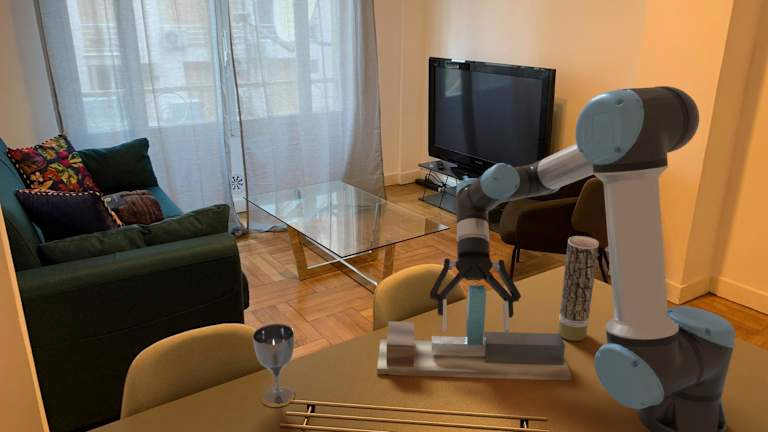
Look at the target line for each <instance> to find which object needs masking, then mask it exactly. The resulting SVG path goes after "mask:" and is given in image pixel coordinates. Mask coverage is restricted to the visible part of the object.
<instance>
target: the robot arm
mask: <svg viewBox="0 0 768 432" xmlns="http://www.w3.org/2000/svg"><path fill="white" fill-rule="evenodd" d="M699 124H700V112H699V107H698V105H697V103H696V102H695V100H694V99H693V97H691V96H690V95H689V94H688V93H687V92H686V91H684V90H682V89H679V88H677V87H674V86H667V85H664V86H663V85H662V86H661V85H660V86H651V87H637V88H636V87H635V88H621V89H620V88H618V89H615V90H611V91H605V92H604V91H603V92H602V93H599V94H597V95H595V96H593V97H592V98H590V99H589V100H588V102H587V103H586V104H585V106H584V108H583V109H581V110H580V113H579V115H578V117H577V120H576V123H575V131H574V132H575V133H574V136H575V137H574V138H575V143H574V144H571V145H570V146H568V147H565V148H564V149H561V150H560V151H557V152H555V153H553V154H551V155H548V156H546V157H545V158H543V159H540V160H537V161H536V162H534V163H531V164H527V165H523V166H516V167H515V166H514V167H513V166H512V165H510V164H506V162H505V163H504V162H500V163H499V162H498V163H496V164H494V165H493V166H491V167H489V168H488V169H486V170H485V171H484V172H483V174H481V176H479V177H478V178H477V177H475V178H474V177H472V178H466V179H465V180H461V181H460V182H459V183H458V184H457V186H456V195H455V205H456V207H455V208H456V210H455V211H456V241H457V243H456V257H457V258H456V260H450V258H447V257H446V258H445V259H444V261H443V268H442V269H441V271H440V273H439V275H438V276H437V279H436V281H435V283H434V284H433V286H432V288H431V290H430V291H429V299H431V300H434V301H436V302H437V303H436V304H437V305H436V306H437V308H436V309H437V316H441V317H442V332H447V327H448V325H447V323H448V320H447V319H448V318H447V317H448V316H447V315H448V314H447V299H446V298H447V297H448V296H449V295H450V293H452V291H453V290H454V289H455V288H456V287H457V286H458V285H459V283H461V282H462V280H464V279H465V280H466V281H477V282H479V281H482V280H484V281H485V282H486V283H487V284H488V285H489V286H490V287H491V288H492V289H493V290H494V291H495V293H496V294H498V296H499V297H500V298H501V299H502V300H503V301H504V302H503V304H502V312H503V313H502V316H503V332H504V333H508V332H510V327H511V326H510V318H513V316H514V313H515V312H514V303H516V302H519V301H520V300H521V298H522V297H521V296H522V295H521V293H520V292H519V290H518V288H517V286H516V285H515V283H514V281H513V280H512V278H511V276H510V274H509V272H508V271H507V269H506V266H505V260H503V259H500V260H499V261H492V260H491V253H490V251H491V250H490V242H489V240H490V231H489V230H490V229H489V227H490V226H489V212H490V211H491V210H493V209H494V208H496V207H497V206H498V205H500V204H501V203H505V202H511V201H515V200H516V201H517V200H522V199H527V198H531V197H538V196H547V195H550V194H553V193H556V192H558V191H559V190H560V188H561V187H563V186H566V185H569V184H571V183H575V182H577V181H580V180H582V179H586V178H587V177H589V176H592V175H594V176H595V177H597V179H599V180H600V181H601V182H602V184H603V194H604V206H605V218H606V219H605V220H606V231H607V232H606V233H607V243H608V256H609V257H608V258H609V265H610V266H609V267H610V268H609V269H610V281H611V292H612V305H613V317H612V318H611V319H610V320H609V321H608V322H607V323H606V325H605V334H606V344H603V345H601V347H599V349H598V350H597V351H596V353H595V355H594V359H593V360H594V370H595V373H596V375H597V378H598V381H599V382H600V384H601V385H602V387H603V389H605V390H606V391H607V393H608V395H609V396H610V397H612V399H614V400H615V401H616V402H618V403H619V404H621V405H623V406H625V407H628V408H631V409H634V410H635V409H636V410H637V414H638V417H639V419H640V421H641V422H642V423H643V424H644V426H646V428H648V429H649V430H650V431H651V432H725V431H726V428H727V421H726V415H725V410H724V404H723V398H722V396H723V392H724V389H725V385H726V380H727V375H728V372H729V371H728V370H729V368H730V363H731V360H732V355H733V351H734V349H735V345H736V344H735V340H736V339H735V338H736V330H735V328H734V326H732V324H731V323H730V322H729V321H728V320H726V319H725V318H724V317H721V316H719V314H716V313H714V312H712V311H711V312H710V311H708V310H705V309H702V308H697V307H693V306H688V305H674V306H670V307H668V298H667V297H668V296H667V283H666V281H667V280H666V270H665V269H666V268H665V267H666V266H665V265H666V264H665V252H664V251H665V250H664V240H663V239H664V238H663V237H664V236H663V225H662V211H661V210H662V209H661V195H660V183H659V182H660V181H659V179H660V177H661V175H662V174H663V173H664V172H665V171H666V170H667V169H668V167H669V165H668V164H669V163H668V154H669V153H672V152H675V151H677V150H680V149H681V148H683V147H685V146H686V145H687V144H689V142H690V141H691V140H692V139H693V138H694V136H695V135H696V133H697V131H698V129H699ZM453 268H456V269H457V271H458V272H457V273H456V274H455V276H454V277H453V278H452V279H451V280H450V282H448V284H447V285H446V286H445V287H444V288H443V289H442V290H441V291H440V293H439V290H440V288H441V286H442V285H443V283H444V281H445V279H446V277H447V275H448V273H449V271H452V269H453ZM492 268H494V270H495V271H496V272H498V275H499V277H500V279H501V280H502V282H503V283H504V285H505V287H506V288H505V287H504V286H503V285H502V283H500V282H499V281H498V280H497V278H496V277H494V275H493V273H492V271H491V269H492ZM507 290H508V291H507Z"/></svg>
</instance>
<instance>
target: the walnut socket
mask: <svg viewBox="0 0 768 432" xmlns="http://www.w3.org/2000/svg"><path fill="white" fill-rule="evenodd" d="M387 324H388V325H387V335H386V339H387V366H395V367H414V340H415V322H414V321H388V323H387Z"/></svg>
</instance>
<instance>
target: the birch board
mask: <svg viewBox="0 0 768 432" xmlns="http://www.w3.org/2000/svg"><path fill="white" fill-rule="evenodd" d="M431 342H432V340H421V339H420V340H417V339H414V367H395V366H387V338H385V339H383V338H382V339H381V338H380V341H379V350H378V358H377V368H376V375H381V374H389V375H390V376H418V377H443V378H445V377H448V378H473V379H474V378H476V379H478V378H479V379H480V378H482V379H506V380H507V379H509V380H511V379H512V380H535V381H536V380H538V381H541V380H542V381H572V372H571V371H570V368H569V366H568V364H567V363H568V362H566V359H565V358H564V359H563V365H538V364H506V363H485V358H484V356H454V355H432V352H431ZM389 375H388V376H389Z"/></svg>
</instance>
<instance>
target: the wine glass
mask: <svg viewBox="0 0 768 432" xmlns="http://www.w3.org/2000/svg"><path fill="white" fill-rule="evenodd" d="M252 339H253V346H254V351H255V356H256V357H257V360H258V362H259V363H260V365H261V366H263V367H264V368H265V369H266V370H269V371H270V373H271V374H272V376H273V378H274V379H273V380H274V383H275V385H274V387H275V388H273V387H271V388H272V389H271V390H268V389H267V390H268V391H267V392H266V393H265V395H264V396H265V397H264V399H266V400H267V401H268V402H270V403H271V402H272V403H273V402H274V403H277V404H280V403H284V402H287V401H288V398H290V397H291V395H292V392H291V391H290V389H289V388H290V387H288V388H284V387H285V386H284V387H279V386H280V374H281V372H282V370H283V369H284V368H285V367H286V366H287V365H288V364H289V362H290V361H291V359H292V358H293V354H294V347H295V332H294V330H293V328H292V327H291V326H289V325H287V324H283V323H270V324H266V325H263V326H260V327H258V328H257V329H256V330H255V331H254V332H253V336H252ZM290 399H291V398H290Z"/></svg>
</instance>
